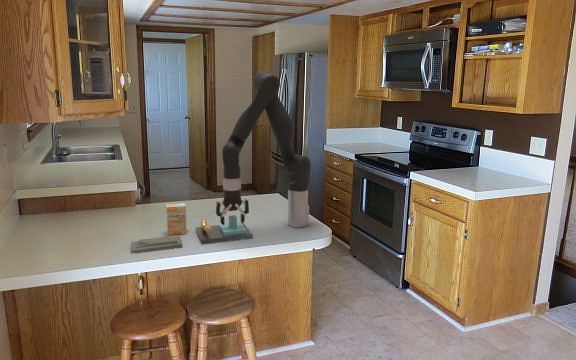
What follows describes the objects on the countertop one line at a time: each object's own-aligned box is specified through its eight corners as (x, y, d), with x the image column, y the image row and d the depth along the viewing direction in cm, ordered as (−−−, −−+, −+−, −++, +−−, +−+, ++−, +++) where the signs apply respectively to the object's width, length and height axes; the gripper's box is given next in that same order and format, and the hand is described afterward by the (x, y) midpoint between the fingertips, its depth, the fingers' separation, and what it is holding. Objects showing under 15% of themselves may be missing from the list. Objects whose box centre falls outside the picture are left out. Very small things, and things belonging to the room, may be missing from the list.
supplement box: (167, 235, 205) (166, 207, 202) (167, 232, 209) (166, 203, 206) (186, 234, 207) (185, 205, 204) (186, 230, 212) (185, 202, 208)
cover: (241, 225, 212) (240, 212, 211) (246, 233, 203) (246, 218, 202) (219, 228, 209) (219, 214, 208) (224, 235, 200) (223, 221, 198)
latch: (200, 229, 206) (200, 220, 205) (205, 228, 207) (205, 219, 206) (207, 236, 197) (206, 227, 196) (212, 236, 198) (212, 226, 197)
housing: (243, 226, 217) (243, 222, 217) (252, 238, 203) (252, 234, 202) (195, 231, 210) (195, 227, 210) (201, 244, 195) (201, 239, 195)
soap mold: (130, 246, 194) (130, 238, 194) (179, 240, 201) (179, 232, 200) (131, 255, 185) (131, 247, 184) (183, 249, 192) (182, 241, 191)
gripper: (217, 191, 196) (218, 228, 199) (250, 188, 200) (250, 224, 204) (214, 186, 202) (214, 222, 206) (245, 184, 207) (246, 219, 211)
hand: (232, 223), depth 205 cm, fingers open, 8 cm apart
